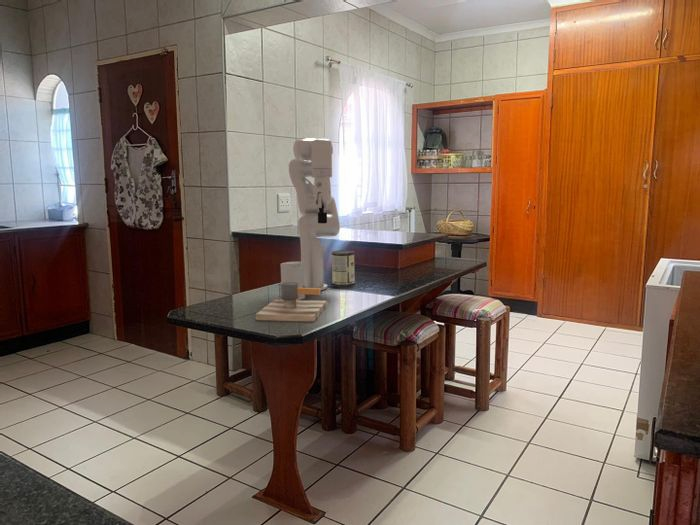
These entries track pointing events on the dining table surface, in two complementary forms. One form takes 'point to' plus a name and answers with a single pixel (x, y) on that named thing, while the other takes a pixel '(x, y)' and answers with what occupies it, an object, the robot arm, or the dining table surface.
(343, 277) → the coffee can
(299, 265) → the skincare box
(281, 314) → the base
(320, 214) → the robot arm
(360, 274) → the dining table surface
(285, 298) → the grey orange long piece
